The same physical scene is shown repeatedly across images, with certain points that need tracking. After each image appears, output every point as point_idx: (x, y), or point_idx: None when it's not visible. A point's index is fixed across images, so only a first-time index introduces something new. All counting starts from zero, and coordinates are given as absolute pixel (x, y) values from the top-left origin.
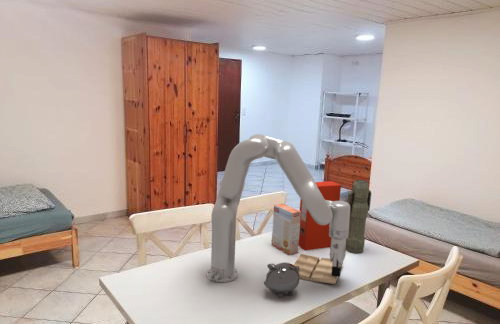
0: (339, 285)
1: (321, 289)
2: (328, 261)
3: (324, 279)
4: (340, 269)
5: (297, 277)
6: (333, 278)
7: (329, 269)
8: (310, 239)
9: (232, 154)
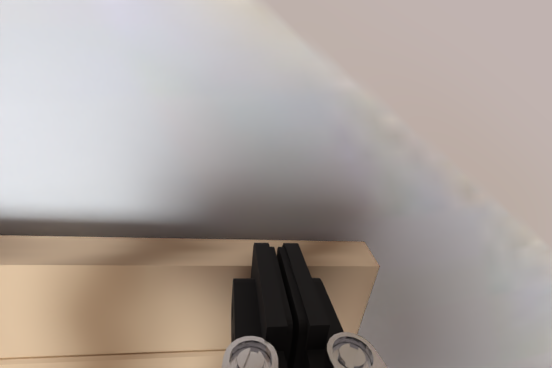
0: (318, 198)
1: (414, 301)
2: None
3: (353, 332)
4: (265, 286)
5: None
6: (347, 283)
7: (149, 339)
8: None
9: None
